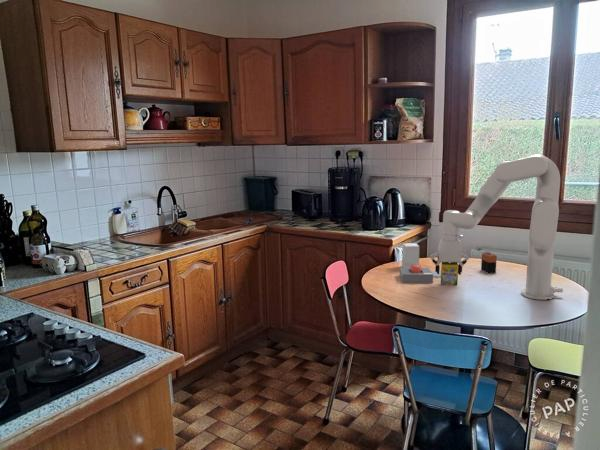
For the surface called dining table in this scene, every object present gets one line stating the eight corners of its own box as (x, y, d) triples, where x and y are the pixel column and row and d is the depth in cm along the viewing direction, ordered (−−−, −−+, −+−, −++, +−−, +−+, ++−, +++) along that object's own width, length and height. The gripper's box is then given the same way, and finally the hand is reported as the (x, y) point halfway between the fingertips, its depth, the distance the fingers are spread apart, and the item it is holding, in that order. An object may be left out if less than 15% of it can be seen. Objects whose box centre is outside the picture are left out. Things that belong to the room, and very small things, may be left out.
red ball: (420, 274, 230) (420, 264, 229) (421, 277, 226) (421, 267, 225) (410, 274, 231) (410, 264, 230) (411, 277, 226) (411, 267, 225)
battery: (488, 269, 242) (489, 250, 240) (496, 273, 236) (497, 253, 234) (480, 270, 241) (481, 251, 240) (488, 273, 235) (489, 254, 233)
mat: (445, 271, 239) (445, 271, 239) (449, 277, 230) (449, 276, 230) (427, 271, 240) (427, 271, 240) (430, 276, 231) (430, 276, 231)
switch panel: (428, 275, 234) (428, 267, 233) (432, 282, 222) (433, 274, 221) (399, 275, 235) (399, 267, 234) (402, 282, 223) (402, 274, 222)
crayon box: (441, 285, 219) (441, 260, 216) (440, 283, 222) (441, 259, 219) (457, 285, 217) (458, 261, 215) (456, 283, 220) (458, 259, 218)
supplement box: (419, 270, 243) (419, 246, 241) (404, 270, 243) (405, 246, 241) (415, 266, 251) (416, 242, 248) (401, 266, 251) (402, 243, 248)
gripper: (468, 236, 218) (465, 271, 221) (429, 235, 220) (427, 270, 223) (472, 239, 211) (469, 276, 214) (432, 238, 212) (430, 275, 216)
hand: (448, 273), depth 219 cm, fingers open, 9 cm apart
